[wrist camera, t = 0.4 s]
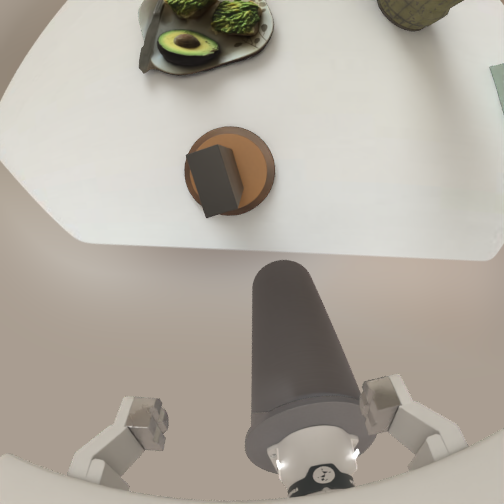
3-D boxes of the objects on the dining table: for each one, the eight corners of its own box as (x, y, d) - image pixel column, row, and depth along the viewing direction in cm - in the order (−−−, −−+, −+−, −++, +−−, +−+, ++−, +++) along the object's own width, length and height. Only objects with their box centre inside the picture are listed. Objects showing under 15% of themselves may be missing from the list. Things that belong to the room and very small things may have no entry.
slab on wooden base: (275, 196, 36) (291, 223, 22) (204, 217, 37) (174, 257, 22) (254, 125, 33) (255, 102, 19) (182, 148, 34) (135, 144, 20)
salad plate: (125, -10, 27) (113, -23, 23) (243, -47, 26) (242, -64, 21) (149, 93, 33) (136, 86, 29) (284, 53, 31) (288, 40, 27)
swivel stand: (277, 210, 38) (277, 212, 37) (191, 217, 38) (189, 219, 37) (270, 123, 34) (271, 122, 33) (182, 132, 35) (180, 132, 34)
